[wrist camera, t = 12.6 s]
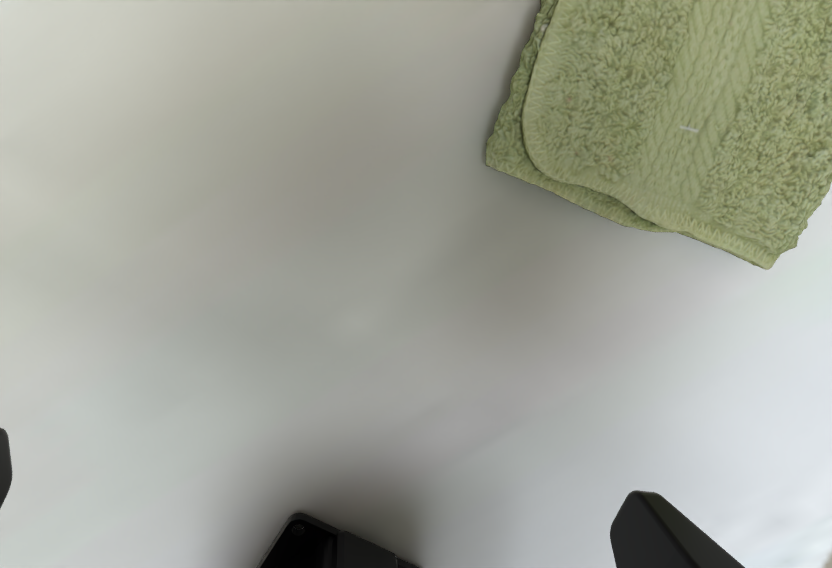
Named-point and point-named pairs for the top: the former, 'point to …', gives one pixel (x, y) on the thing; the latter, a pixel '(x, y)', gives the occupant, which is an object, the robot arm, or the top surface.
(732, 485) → the top surface
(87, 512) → the top surface
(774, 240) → the washcloth
